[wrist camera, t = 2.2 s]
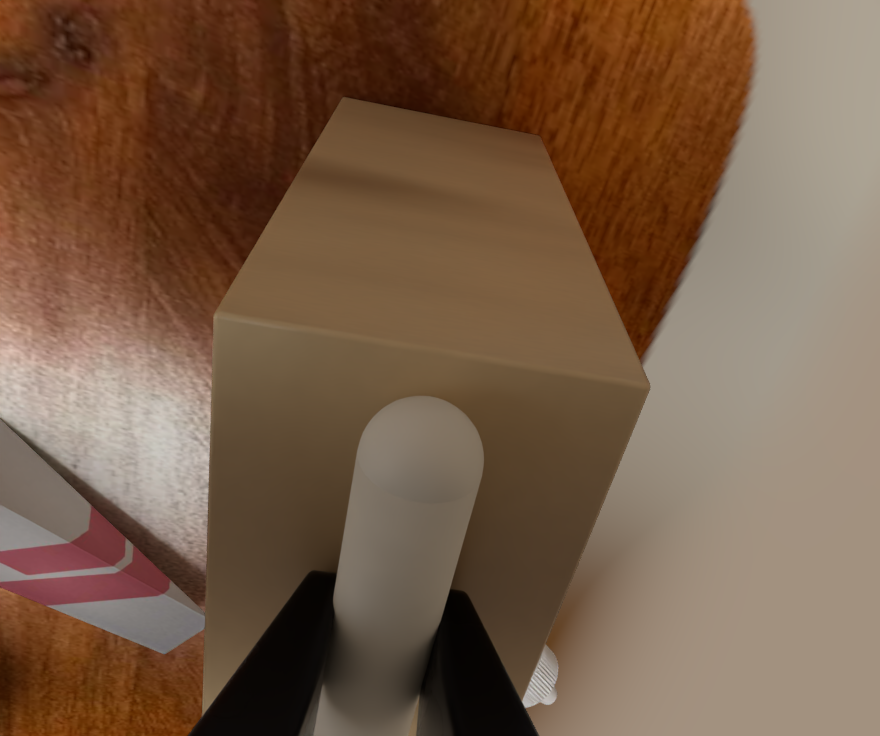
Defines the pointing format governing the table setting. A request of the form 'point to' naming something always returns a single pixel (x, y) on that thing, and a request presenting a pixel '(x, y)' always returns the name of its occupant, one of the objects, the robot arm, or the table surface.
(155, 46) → the table surface
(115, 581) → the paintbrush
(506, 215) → the tan tall block
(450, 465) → the rod with rounded ends
